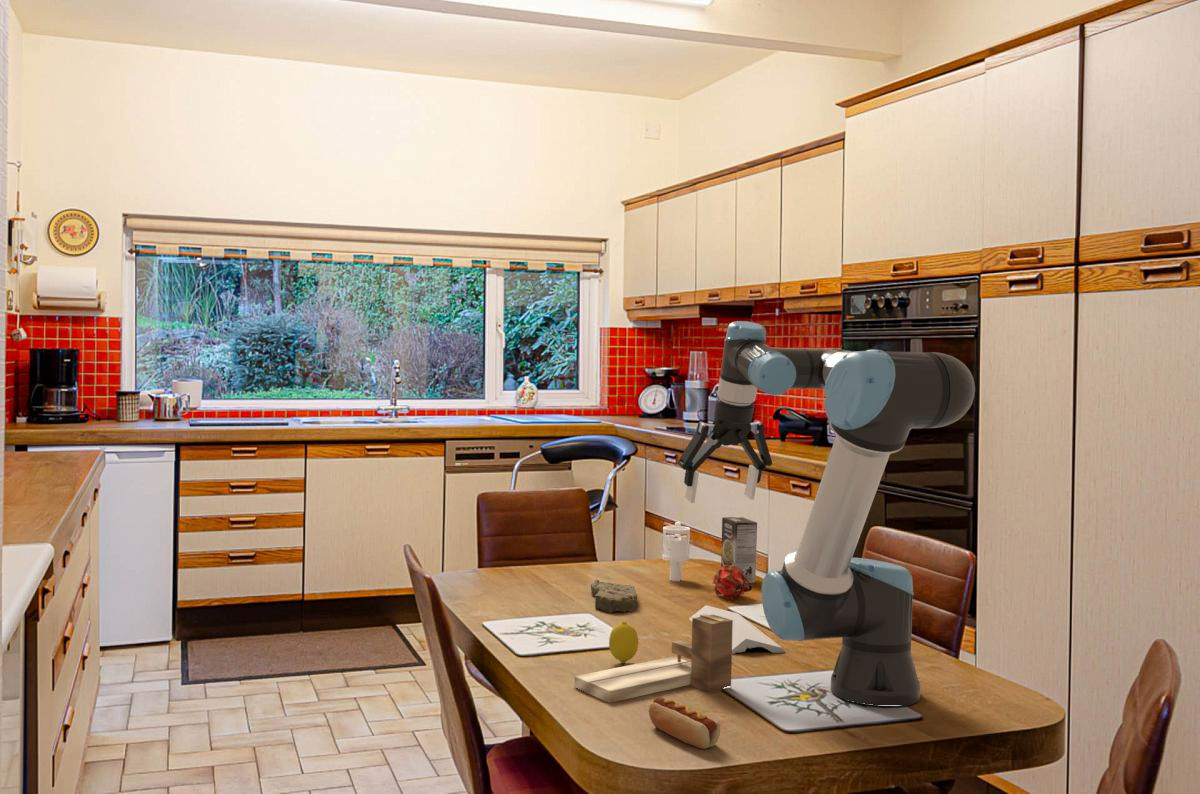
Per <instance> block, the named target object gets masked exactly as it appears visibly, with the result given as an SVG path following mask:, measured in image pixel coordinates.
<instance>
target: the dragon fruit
mask: <svg viewBox="0 0 1200 794" xmlns="http://www.w3.org/2000/svg"><path fill="white" fill-rule="evenodd" d="M743 573H744V571H743V570H741V569H738V568H737V567H735V566H733V565H730V566H729V565H724V566H723V567H720V568H719V569H718V571H716V573H715V574H714V576H713V582H712V584H714V592H715V594H716V595H717V596H718V595H719V596H720V595H722V597H724V598H726V600H729V601H734V600H735V598H740V597H741V598H743V595H745V593H748V592H751V591H752V589H753V585H752V584H750V583H749V581H747V577H746V576H745V575H744V574H743ZM746 581H747V582H748V583H746Z"/></svg>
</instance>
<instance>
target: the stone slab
mask: <svg viewBox="0 0 1200 794" xmlns="http://www.w3.org/2000/svg"><path fill="white" fill-rule="evenodd" d="M590 591H591V596H592V597H593V598H594V607H595V608H596V609H599V610H601V611H603V612H604V611H605V612H606V613H609V612H610V613H615V612H623V613H627V612H626V611H628V612H631V611H634V610H635V609H636V608H637V607H636V606H637V605H638V594H637V591H636V588H635V586H634V585H631V584H621V583H612V582H604V581H600V580H599V579H595V580H594V582H592V583H590Z"/></svg>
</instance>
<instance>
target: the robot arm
mask: <svg viewBox="0 0 1200 794" xmlns="http://www.w3.org/2000/svg"><path fill="white" fill-rule="evenodd" d="M766 341H767V330H766V328H765V326H764V325H762V324H760V323H757V322H754V321H752V322H751V321H747V320H746V321H745V320H744V321H743V320H739V321H738V320H736V321H733V322H731V323H729V324H728V326H727V330H726V335H725V338H724V343H723V344H724V346H723V353H722V358H721V359H722V360H721V366H720V367H721V368H720V374H719V380H718V387H717V392H716V393H717V394H716V395H717V398H715V399H716V400H715V405H714V411H713V412H714V413H713V421H712V422H711V423H706V422H704V421H702V420H701V421H699V422H698V424H697V427H696V430H695V433H694V435H693V436H692V438H691V440H690V441H689V443H688V445H687V446H686V447H685V449H684V451H683V453H682V454H681V455H680V457H679V459H678V460H677V465H678V466H679V467H680V468H682V470H684V471H685V472H684V478H683V483H684V485H686V491H685V497H684V498H685V499H686V500H687V501H689V503H690V504H694V503H695V500H696V494H697V488H698V482H699V477H700V476H699V474H700V472H699V471H697V470H698V469H699V468H700V467H701V466H702V464H704V462H706V460H707V459H708V458H709V457H710V456H711V455H712V454H713V453H714V452H715V450H716V449H719V448H720V447H722V445H723V447H725V446H726V447H727V446H738V445H739V444H740V446H741V447H742V448H743V450H744V452H745V454H747V456H748V458H749V459H750V460H751V463H752V464H749V465H748V470H747V477H746V482H745V483H746V484H745V489H744V495H745V497H747V498H748V499H749V500H752V501H753V500H755V495H756V489H757V484H760V482H761V478H762V474H763V472H764V471H765V470H766V468H767V467H771V466H772V465H773V461H772V457H771V454H770V450H769V447H768V444H767V440H766V438H765V424H763V423H762V422H761V421H760V420H758V419H755V420H754V421H753V422H751V421H752V419H753V414H754V410H755V409H754V408H755V403H754V402H755V401H756V396H757V392H758V391H757V390H759V391H761V392H763V393H765V394H767V395H771V396H780V395H783V394H784V393H786V392H788V391H789V390H823V396H825V399H824V400H823V407H824V411H825V414H826V417H827V418H828V420H829V422H830V423H829V425H830V426H829V427H830V429H831V430H832V432H833V433H834V435H835V438H834V441H833V443H832V447H831V450H830V453H829V455H828V459H827V462H826V466H825V468H824V471H823V474H822V478H821V480H820V482H819V486H818V489H817V493H816V495H815V498H814V501H813V504H812V507H811V510H810V514H809V516H808V520H807V521H806V526H805V528H804V531H803V534H802V538H801V541H800V544H799V546H798V548H795V549H793V550H791V551H789V552H788V553H787V555H786V556H785V559H784V562H783V563H782V567H781V570H778V571H777V570H775V569H774V570H772V571H769V572H768V573H766V574H765V575H764V577H763V580H762V583H761V590H760V591H761V604H762V608H763V609H762V610H763V614H764V616H765V620H766V622H767V624H768V627H769V628H770V630H771V631H772V633H773V635H775V636H776V637H777V638H779V639H780V640H782V641H790V642H792V641H793V642H797V641H798V642H804V641H814V640H823V639H824V640H826V639H828V640H829V639H837V638H842V639H841V649H840V652H839V655H838V657H837V660H836V663H835V665H834V669H833V672H832V674H831V677H830V692H831V691H832V692H831V693H832V694H833V693H834V694H835V695H834V694H833V695H834V696H835V697H837V696H838V698H839V697H840V699H841V698H843V699H842V700H844V699H846V700H845V701H847V700H849V701H848V702H850V701H854V702H858V703H865V704H873V705H902V706H901V707H906V706H912V705H913V704H916V703H917V702H919V701H920V699H921V683H920V681H919V677H918V674H917V670H916V667H915V662H914V658H913V656H912V627H913V622H912V620H913V596H914V594H915V592H914V586H913V585H914V584H913V576H912V572H911V571H910V570H909V569H908V568H906V567H904V566H902V565H900V564H899V565H898V564H896V563H892V562H887V561H883V560H882V561H881V560H876V559H870V558H862V557H854V555H855V554H854V553H855V550H856V548H857V545H858V543H859V540H860V537H861V534H862V532H863V530H864V526H865V524H866V521H867V518H868V515H869V512H870V509H871V508H872V504H873V501H874V499H875V496H876V493H877V491H878V488H879V485H880V483H881V480H882V478H883V477H882V476H884V475H883V474H884V472H885V469H886V466H887V463H888V461H889V458H890V455H891V454H895V453H897V452H899V451H901V450H902V449H903V448H904V446H905V444H906V441H907V438H908V436H909V434H910V431H911V430H912V429H936V428H937V429H938V428H943V427H945V426H949V425H952V424H953V423H955V422H957V421H959V420H960V419H961V418H963V417H964V416H965V415H966V414H967V412H968V411H969V409H970V408H971V406H972V405H973V401H974V399H975V393H976V385H975V381H974V380H975V379H974V376H973V374H972V372H971V370H970V369H969V367H967V366H966V364H965V363H964V362H963V361H961V360H960V359H959V358H956V357H954V356H953V355H949V354H946V353H942V352H933V351H925V352H924V351H922V352H921V351H919V352H918V351H890V350H889V351H886V350H885V351H884V350H881V349H867V350H860V351H858V350H857V351H856V350H854V351H852V350H851V351H850V350H845V349H839V348H838V349H836V348H835V349H834V348H833V349H809V348H808V349H807V348H806V349H805V348H777V347H776V348H775V347H771V346H769V345H768V344H766ZM710 432H712V433H711V434H710ZM750 432H752V433H753V434H752V435H753V437H754V441H755V443H756V447H757V451H758V454H757V452H756V451H755V449H754V447H753V446H752V443H751V442H750V440H749V438H748V437H747V436H748V434H749V433H750ZM706 439H707V440H706ZM715 440H716V441H715ZM705 441H706V442H705ZM759 456H760V457H759ZM854 702H853V703H854ZM858 703H857V704H858Z"/></svg>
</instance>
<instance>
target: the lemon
mask: <svg viewBox="0 0 1200 794" xmlns="http://www.w3.org/2000/svg"><path fill="white" fill-rule="evenodd" d="M608 639H609V641H608V646H609V651H610V654H611V655H612V656H613V657H614V658H615V659H616V660H618V661H619V662H620V663H621V664H625V663H627V662H628V661H629V660H631V659H632V658H634V657H635V655H636V654H637V652H638V648H639V636H638V633H637V630H636V629H635V628H634V626H632V625H631V624H630V623H628V622H626V621H624V620H623V621H621V622H620V623H618V624H616V625H615V626H614V627H613V628H612V630H611V631H610V635H609V637H608Z"/></svg>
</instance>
